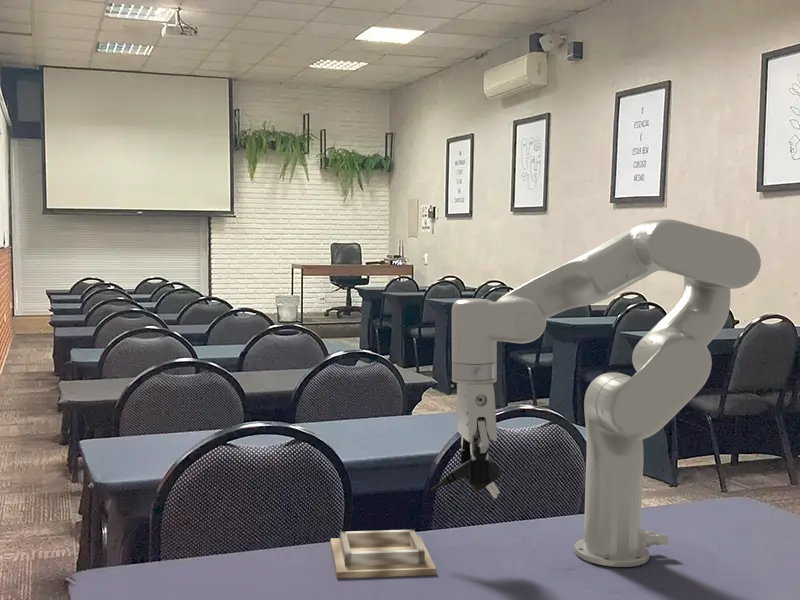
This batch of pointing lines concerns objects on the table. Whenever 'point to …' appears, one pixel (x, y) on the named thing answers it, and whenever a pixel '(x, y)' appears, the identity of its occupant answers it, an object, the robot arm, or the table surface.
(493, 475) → the power plug
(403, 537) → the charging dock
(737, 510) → the table surface
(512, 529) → the table surface
